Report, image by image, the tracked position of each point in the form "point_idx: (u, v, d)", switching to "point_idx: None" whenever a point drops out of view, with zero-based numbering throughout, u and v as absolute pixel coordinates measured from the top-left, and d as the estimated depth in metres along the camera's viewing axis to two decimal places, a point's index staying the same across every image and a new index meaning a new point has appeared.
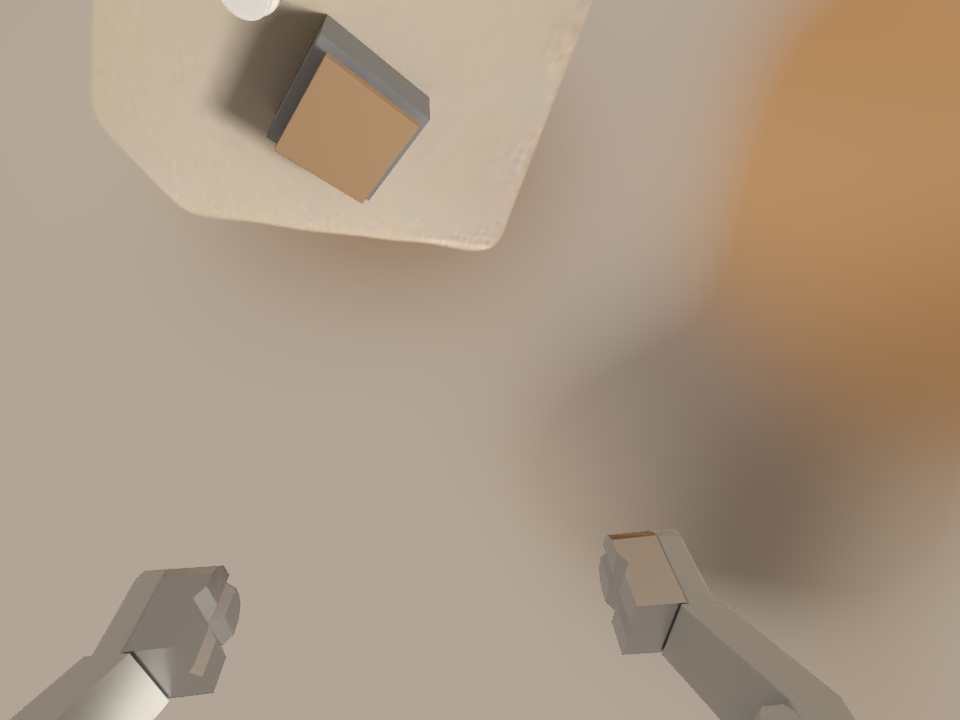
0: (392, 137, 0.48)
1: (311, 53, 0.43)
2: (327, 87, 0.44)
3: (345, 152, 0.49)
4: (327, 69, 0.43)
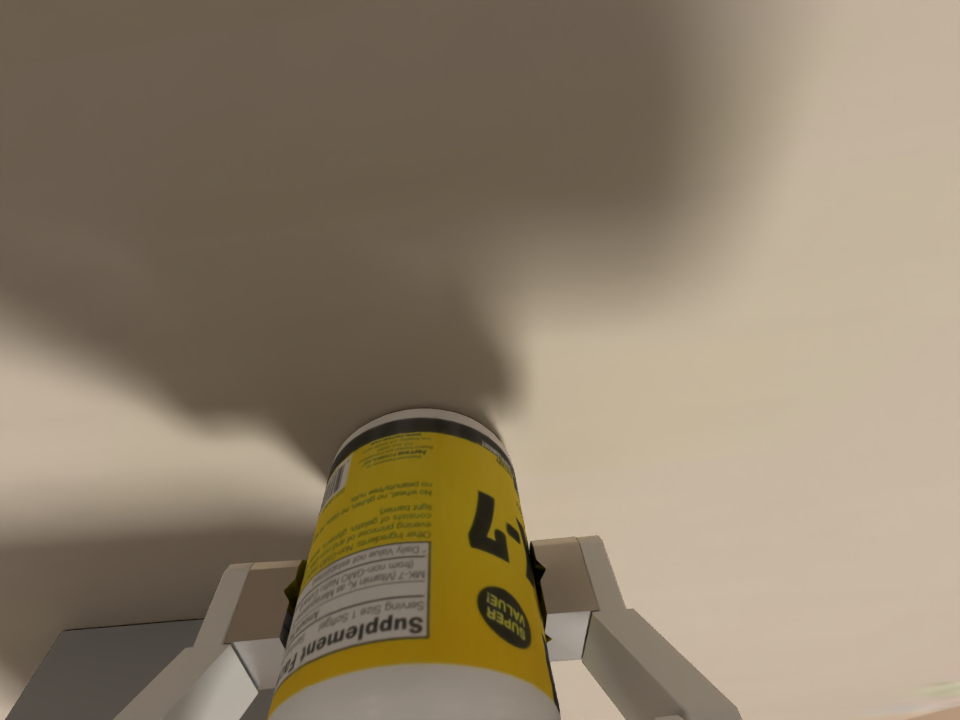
0: None
1: None
2: None
3: None
4: None
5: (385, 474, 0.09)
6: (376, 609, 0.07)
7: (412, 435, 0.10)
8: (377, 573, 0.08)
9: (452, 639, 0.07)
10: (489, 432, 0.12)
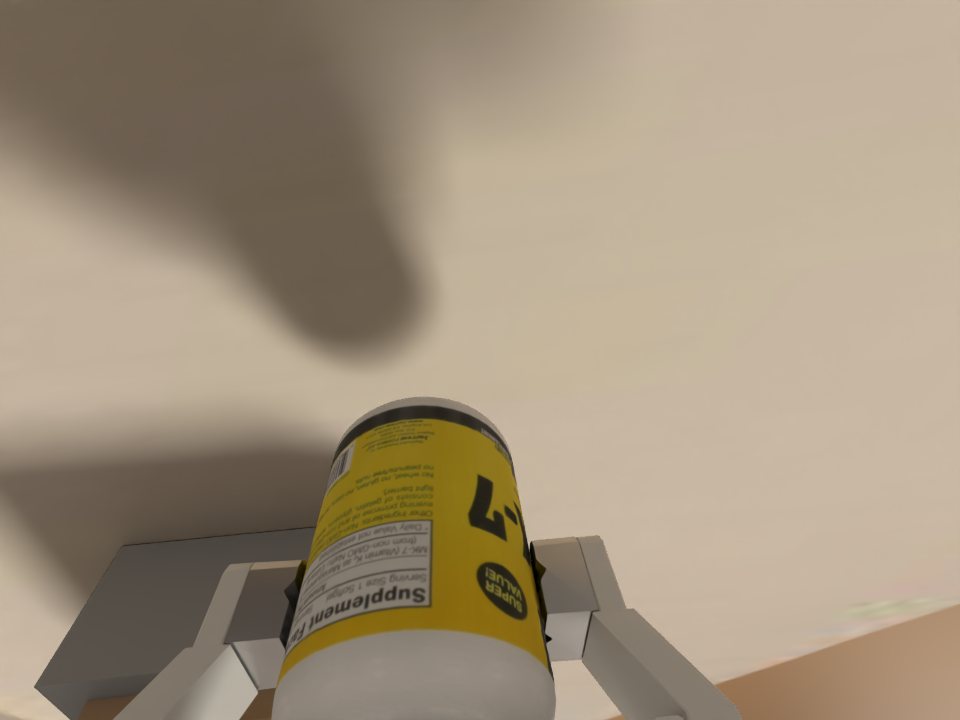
0: None
1: None
2: None
3: None
4: None
5: (389, 458, 0.10)
6: (380, 581, 0.08)
7: (414, 422, 0.11)
8: (382, 548, 0.08)
9: (454, 608, 0.07)
10: (488, 420, 0.12)
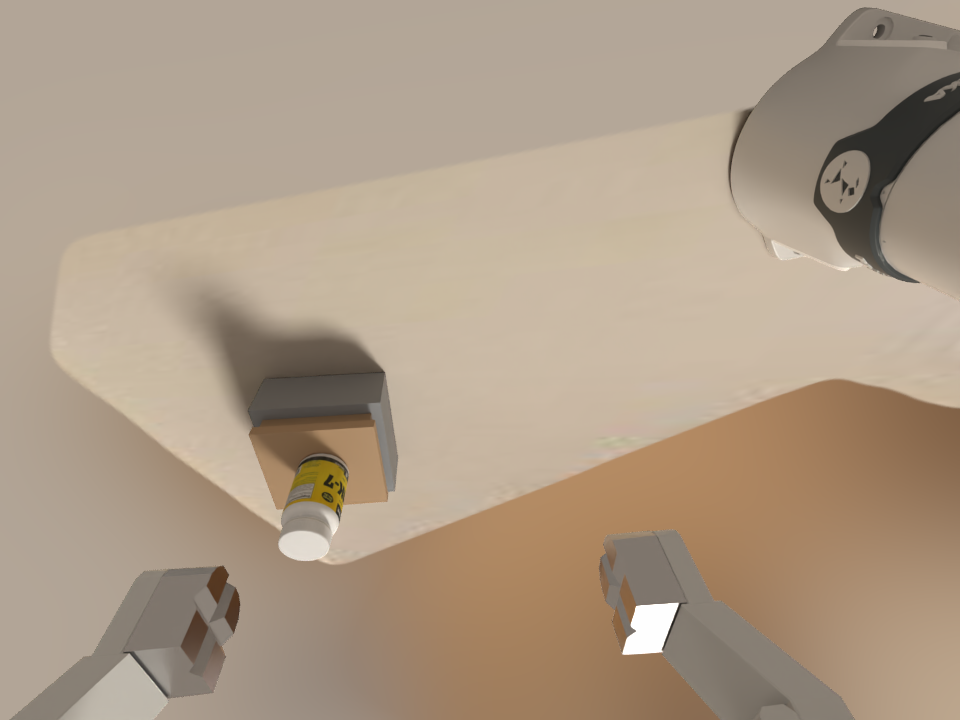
0: (360, 493, 0.47)
1: (358, 404, 0.44)
2: (350, 439, 0.43)
3: None
4: (365, 432, 0.43)
5: (308, 470, 0.42)
6: (302, 494, 0.40)
7: (316, 460, 0.43)
8: (303, 488, 0.40)
9: (315, 498, 0.39)
10: (339, 459, 0.44)
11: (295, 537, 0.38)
